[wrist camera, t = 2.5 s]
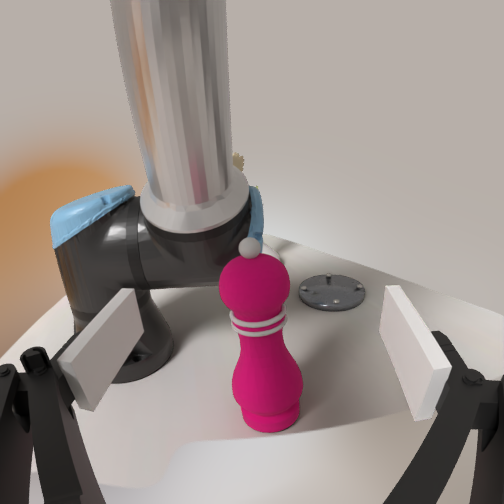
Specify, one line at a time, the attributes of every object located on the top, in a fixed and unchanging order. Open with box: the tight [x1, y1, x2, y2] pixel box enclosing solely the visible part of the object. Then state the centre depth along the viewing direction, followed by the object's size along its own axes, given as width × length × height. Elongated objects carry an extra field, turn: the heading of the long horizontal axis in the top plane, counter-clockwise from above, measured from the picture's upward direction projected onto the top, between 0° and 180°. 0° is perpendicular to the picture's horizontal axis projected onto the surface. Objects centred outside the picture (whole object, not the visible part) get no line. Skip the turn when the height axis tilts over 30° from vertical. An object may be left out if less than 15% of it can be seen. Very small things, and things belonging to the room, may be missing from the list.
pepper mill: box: [219, 237, 303, 433], centre depth 29 cm, size 7×7×20 cm
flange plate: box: [299, 273, 365, 311], centre depth 57 cm, size 12×12×2 cm
